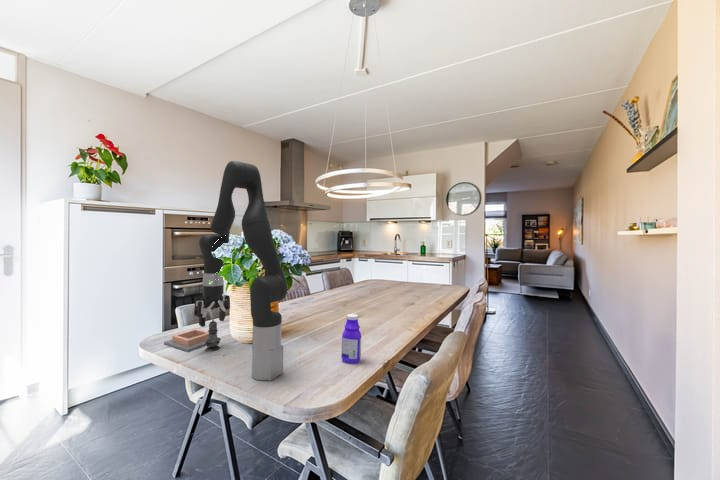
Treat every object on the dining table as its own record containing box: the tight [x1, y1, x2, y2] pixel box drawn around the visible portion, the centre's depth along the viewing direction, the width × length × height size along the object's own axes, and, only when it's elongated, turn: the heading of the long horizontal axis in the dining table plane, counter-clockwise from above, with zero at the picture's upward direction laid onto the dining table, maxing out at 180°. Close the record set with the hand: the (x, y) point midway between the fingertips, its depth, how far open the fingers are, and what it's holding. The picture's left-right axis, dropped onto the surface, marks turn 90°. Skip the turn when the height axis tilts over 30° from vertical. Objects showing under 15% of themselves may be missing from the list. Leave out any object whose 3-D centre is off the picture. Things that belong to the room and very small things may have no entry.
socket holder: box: [163, 328, 209, 353], centre depth 123 cm, size 16×14×4 cm
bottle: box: [340, 313, 362, 364], centre depth 109 cm, size 7×6×17 cm
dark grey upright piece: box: [205, 319, 222, 352], centre depth 117 cm, size 6×6×12 cm
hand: (212, 323), depth 117 cm, fingers open, 8 cm apart
